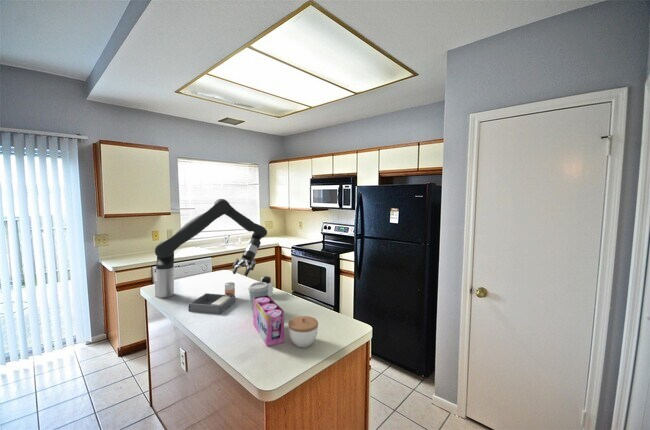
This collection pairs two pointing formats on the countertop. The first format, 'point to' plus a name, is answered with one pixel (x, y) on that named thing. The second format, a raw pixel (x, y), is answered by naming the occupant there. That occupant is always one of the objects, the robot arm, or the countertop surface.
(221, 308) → the tote
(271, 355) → the countertop surface
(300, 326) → the lidded bowl
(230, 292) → the silver lidded jar
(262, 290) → the disposable coffee cup
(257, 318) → the gum box
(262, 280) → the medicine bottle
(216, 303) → the cream rectangular block
